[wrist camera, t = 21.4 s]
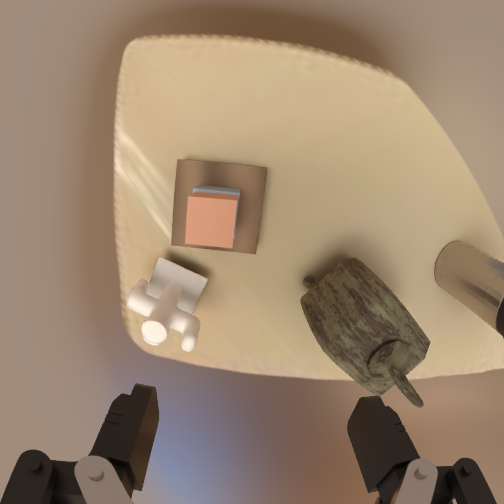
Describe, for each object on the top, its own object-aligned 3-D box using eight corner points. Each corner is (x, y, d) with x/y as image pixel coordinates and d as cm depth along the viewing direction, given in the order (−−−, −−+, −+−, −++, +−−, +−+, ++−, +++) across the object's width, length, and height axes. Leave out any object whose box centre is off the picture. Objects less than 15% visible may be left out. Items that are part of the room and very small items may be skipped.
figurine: (159, 245, 41) (121, 287, 27) (217, 272, 42) (206, 327, 28) (144, 286, 43) (106, 339, 28) (199, 311, 44) (183, 374, 30)
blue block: (240, 189, 35) (240, 193, 30) (235, 228, 36) (234, 238, 32) (199, 184, 35) (193, 188, 30) (196, 224, 36) (189, 233, 31)
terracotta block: (233, 236, 32) (232, 248, 27) (192, 232, 31) (185, 243, 27) (237, 195, 30) (237, 200, 26) (195, 191, 30) (188, 196, 26)
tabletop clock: (290, 279, 43) (338, 403, 19) (334, 237, 41) (430, 325, 18) (346, 332, 46) (407, 445, 23) (385, 296, 45) (471, 392, 21)
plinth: (264, 167, 38) (266, 167, 34) (254, 245, 41) (255, 254, 37) (183, 159, 37) (177, 159, 34) (177, 237, 41) (171, 245, 37)
